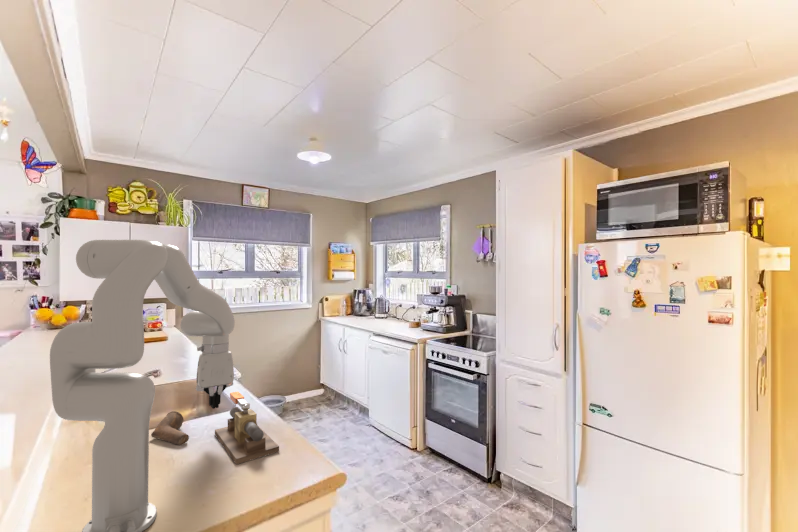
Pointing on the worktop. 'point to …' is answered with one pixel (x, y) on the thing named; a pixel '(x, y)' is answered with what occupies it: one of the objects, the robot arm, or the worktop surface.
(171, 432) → the pipe
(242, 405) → the valve lever
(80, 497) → the worktop surface
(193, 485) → the worktop surface
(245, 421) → the valve stand
